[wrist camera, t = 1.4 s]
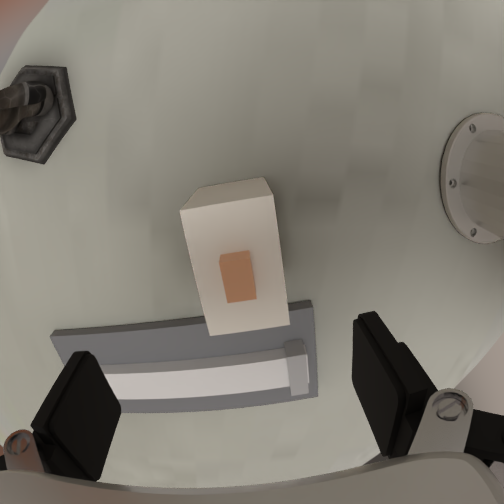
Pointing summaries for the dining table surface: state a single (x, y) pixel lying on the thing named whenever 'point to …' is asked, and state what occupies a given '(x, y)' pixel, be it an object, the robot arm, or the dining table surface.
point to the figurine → (35, 112)
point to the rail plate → (191, 347)
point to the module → (236, 256)
